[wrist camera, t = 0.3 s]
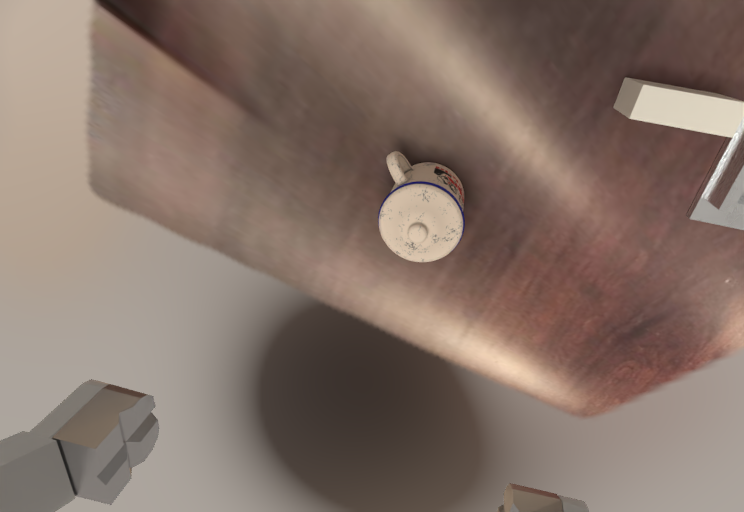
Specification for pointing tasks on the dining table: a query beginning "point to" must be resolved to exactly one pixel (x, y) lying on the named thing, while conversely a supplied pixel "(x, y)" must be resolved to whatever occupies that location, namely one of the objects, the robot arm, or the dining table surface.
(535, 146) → the dining table surface
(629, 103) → the beige rectangular block
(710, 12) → the dining table surface
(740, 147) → the rack
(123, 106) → the dining table surface
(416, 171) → the teacup with lid
